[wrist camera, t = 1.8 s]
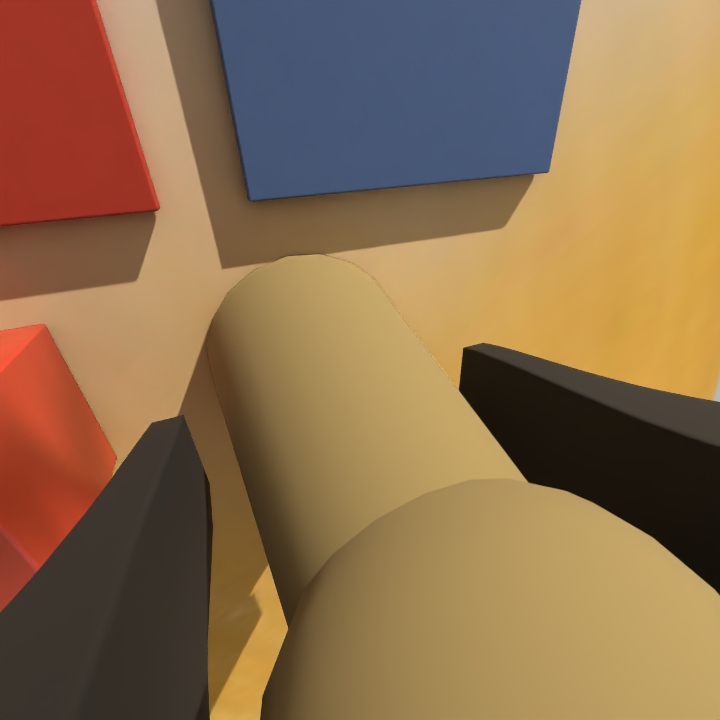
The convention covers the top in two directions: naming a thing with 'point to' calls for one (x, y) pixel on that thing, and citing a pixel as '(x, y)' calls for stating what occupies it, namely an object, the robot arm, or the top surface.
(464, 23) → the blue mat
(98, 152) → the red mat
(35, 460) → the red block
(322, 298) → the cork
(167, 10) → the top surface
